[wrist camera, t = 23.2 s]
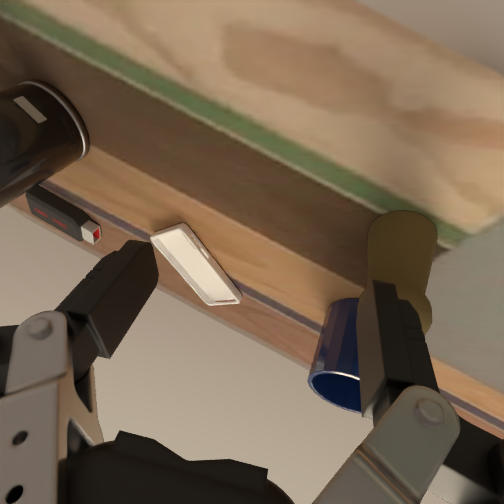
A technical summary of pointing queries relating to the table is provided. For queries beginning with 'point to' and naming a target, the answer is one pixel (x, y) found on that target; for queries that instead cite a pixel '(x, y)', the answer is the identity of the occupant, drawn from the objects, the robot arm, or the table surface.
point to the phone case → (195, 265)
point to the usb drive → (62, 215)
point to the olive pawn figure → (403, 257)
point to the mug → (338, 358)
